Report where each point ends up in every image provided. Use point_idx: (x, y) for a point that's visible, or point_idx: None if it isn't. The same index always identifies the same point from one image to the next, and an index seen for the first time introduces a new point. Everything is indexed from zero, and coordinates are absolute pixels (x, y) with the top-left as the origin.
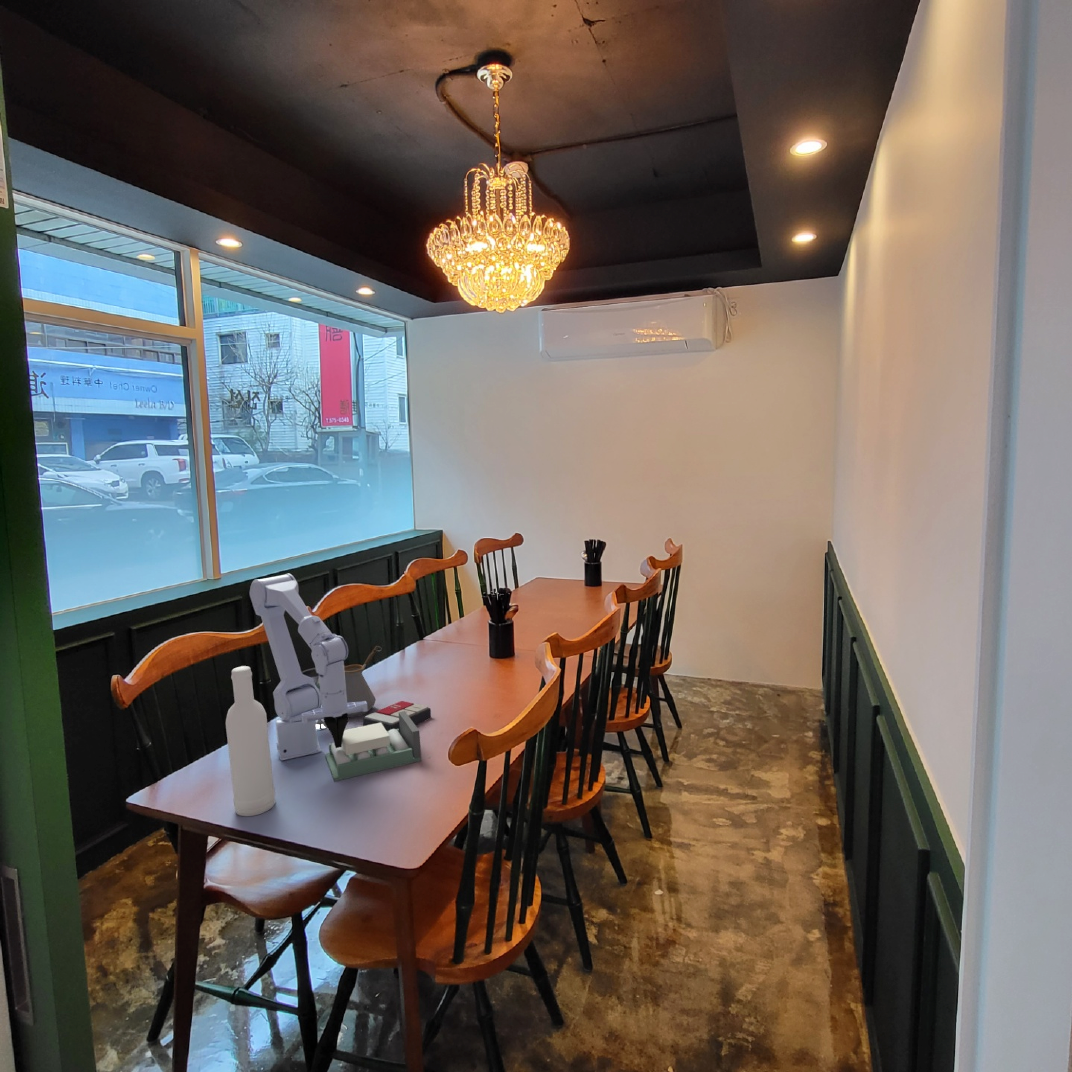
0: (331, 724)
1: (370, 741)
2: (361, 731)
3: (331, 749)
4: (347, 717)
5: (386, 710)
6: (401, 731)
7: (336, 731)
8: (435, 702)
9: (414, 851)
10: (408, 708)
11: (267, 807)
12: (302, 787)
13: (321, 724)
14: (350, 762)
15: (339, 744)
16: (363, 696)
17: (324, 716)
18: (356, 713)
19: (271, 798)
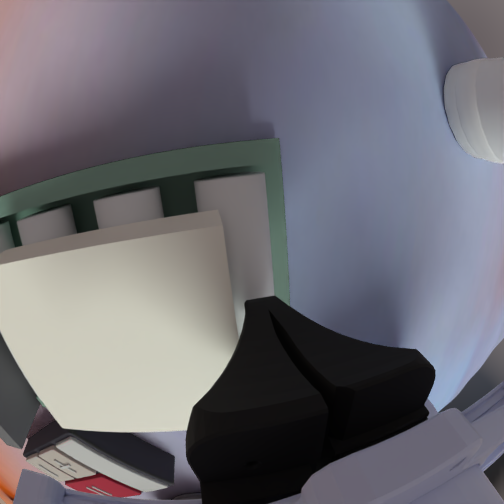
0: (390, 365)
1: (57, 248)
2: (129, 390)
3: None
4: (197, 461)
5: (115, 488)
6: (27, 387)
7: (302, 345)
8: (48, 475)
9: None
10: (64, 475)
11: (457, 65)
12: (383, 151)
13: None
14: (199, 161)
15: (259, 303)
16: None
17: (488, 418)
18: (197, 498)
19: (464, 70)
